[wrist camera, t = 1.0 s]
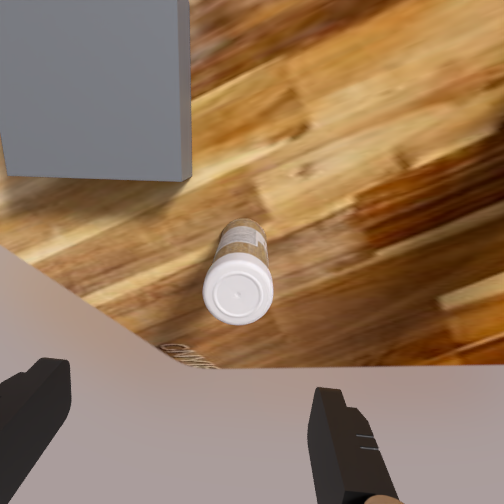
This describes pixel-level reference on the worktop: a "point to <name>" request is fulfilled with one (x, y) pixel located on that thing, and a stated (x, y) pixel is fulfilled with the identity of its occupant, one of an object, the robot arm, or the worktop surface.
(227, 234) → the spice jar
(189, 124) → the grey block
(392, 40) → the worktop surface
